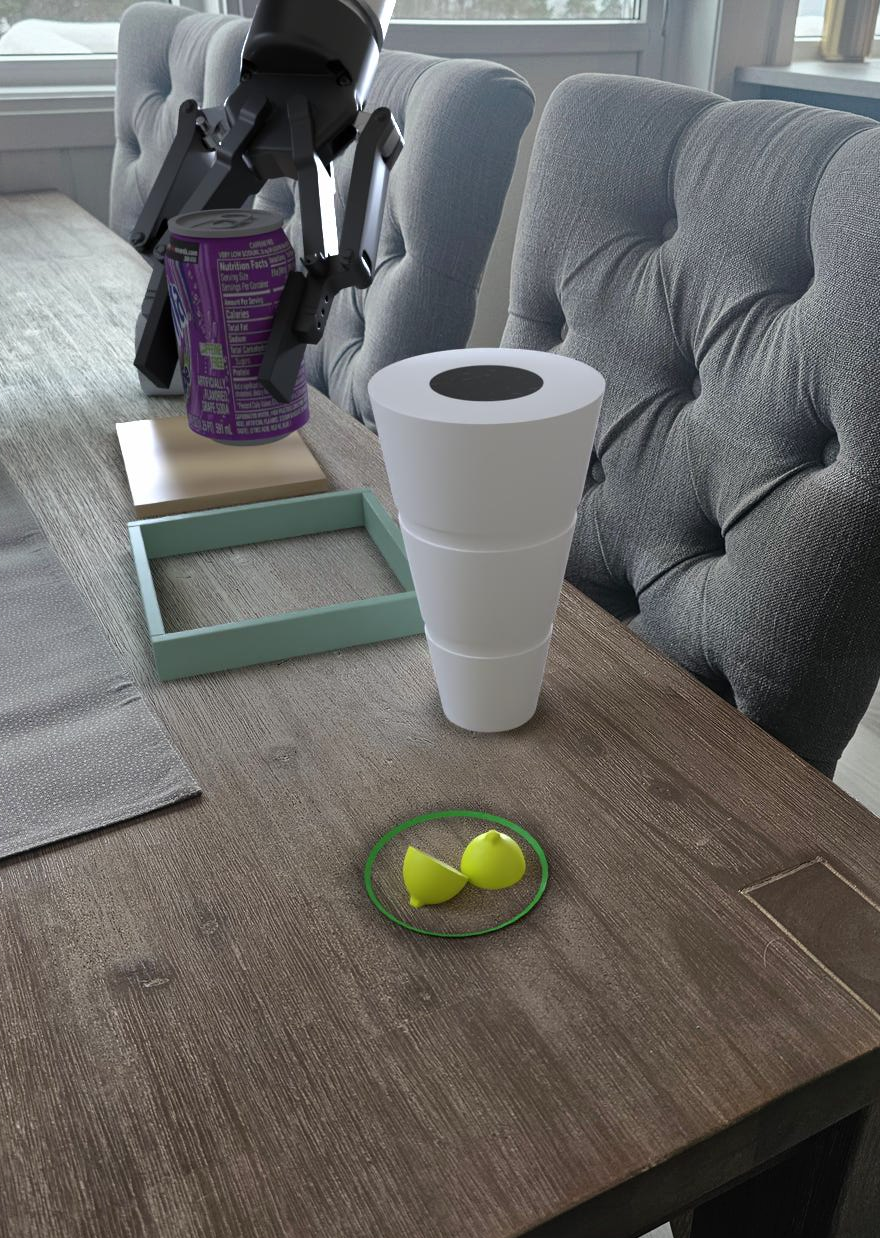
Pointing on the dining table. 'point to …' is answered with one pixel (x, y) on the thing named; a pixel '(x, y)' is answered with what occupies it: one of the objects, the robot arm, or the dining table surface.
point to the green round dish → (482, 865)
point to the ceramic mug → (145, 383)
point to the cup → (487, 511)
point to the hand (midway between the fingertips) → (211, 383)
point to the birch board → (209, 468)
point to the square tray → (281, 631)
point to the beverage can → (230, 322)
